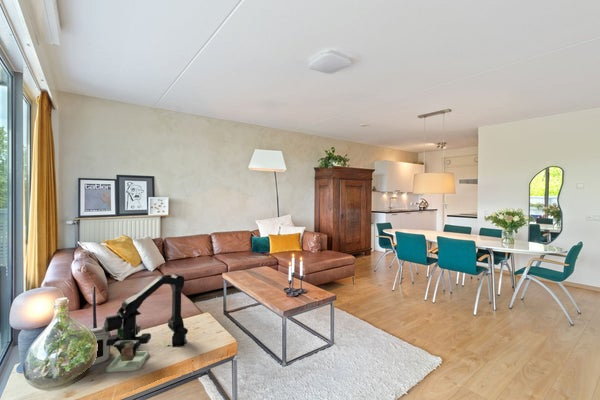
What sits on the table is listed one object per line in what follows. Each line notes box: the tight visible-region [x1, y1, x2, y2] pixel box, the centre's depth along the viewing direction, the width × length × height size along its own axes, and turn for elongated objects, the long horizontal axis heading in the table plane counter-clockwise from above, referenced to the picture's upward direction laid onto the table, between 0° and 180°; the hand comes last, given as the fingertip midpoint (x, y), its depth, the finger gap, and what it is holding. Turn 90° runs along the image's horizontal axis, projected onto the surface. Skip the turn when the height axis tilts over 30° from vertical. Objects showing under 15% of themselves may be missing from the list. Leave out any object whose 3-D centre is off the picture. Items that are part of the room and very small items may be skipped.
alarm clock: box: [89, 326, 111, 366], centre depth 144 cm, size 16×11×16 cm
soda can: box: [116, 325, 133, 346], centre depth 160 cm, size 8×8×12 cm
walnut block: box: [121, 342, 136, 361], centre depth 142 cm, size 5×5×6 cm
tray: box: [105, 350, 150, 373], centre depth 142 cm, size 14×14×2 cm
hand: (129, 356), depth 142 cm, fingers closed on walnut block, 5 cm apart
